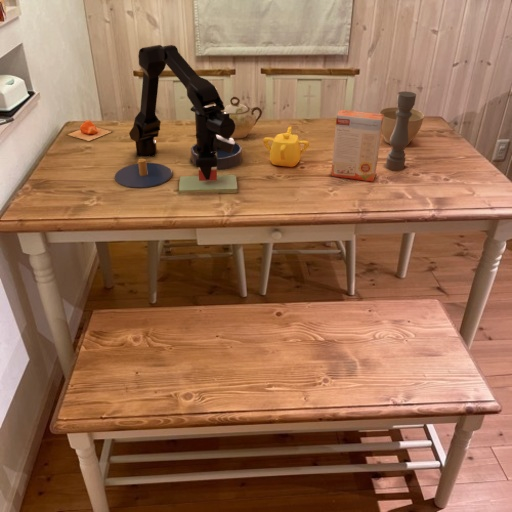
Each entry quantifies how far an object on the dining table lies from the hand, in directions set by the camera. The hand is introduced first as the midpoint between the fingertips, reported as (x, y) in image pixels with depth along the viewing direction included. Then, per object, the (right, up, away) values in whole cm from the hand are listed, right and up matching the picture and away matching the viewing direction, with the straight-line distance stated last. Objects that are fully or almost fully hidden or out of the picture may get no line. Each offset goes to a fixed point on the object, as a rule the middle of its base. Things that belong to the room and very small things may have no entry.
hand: (207, 176), depth 162 cm
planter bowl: (+69, +19, +35) cm, 80 cm away
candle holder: (+63, +5, +16) cm, 65 cm away
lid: (-22, +1, +7) cm, 23 cm away
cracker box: (+47, +1, +9) cm, 48 cm away
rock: (-50, +23, +39) cm, 67 cm away
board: (0, -3, +2) cm, 4 cm away
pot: (+1, +8, +19) cm, 20 cm away
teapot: (+26, +8, +19) cm, 33 cm away
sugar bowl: (+8, +22, +39) cm, 45 cm away
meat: (0, 0, 0) cm, 1 cm away
